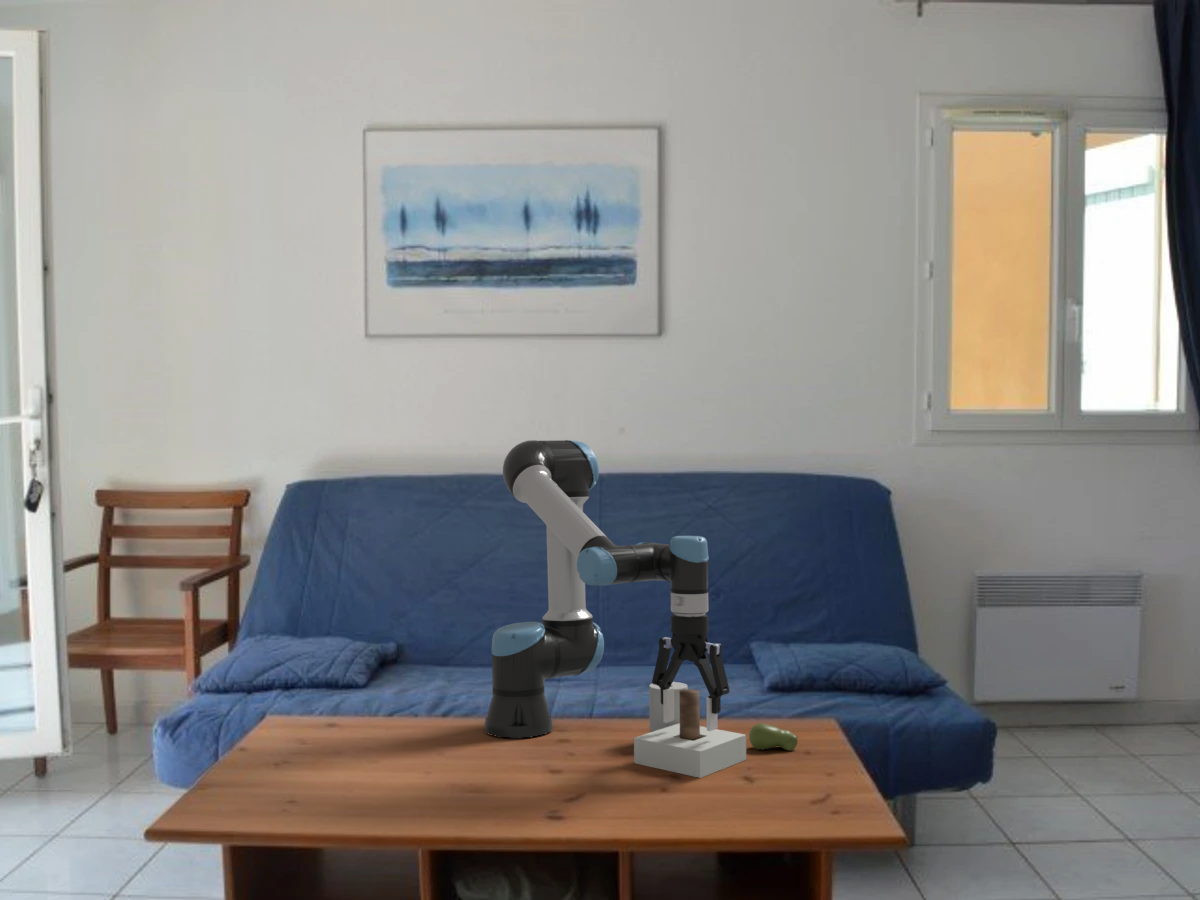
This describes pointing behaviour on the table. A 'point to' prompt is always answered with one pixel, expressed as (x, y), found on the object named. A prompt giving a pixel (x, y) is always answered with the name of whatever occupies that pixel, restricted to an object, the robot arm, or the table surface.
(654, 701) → the grey cylinder peg
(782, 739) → the pear
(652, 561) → the robot arm
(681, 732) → the walnut dowel
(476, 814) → the table surface
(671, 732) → the socket block
